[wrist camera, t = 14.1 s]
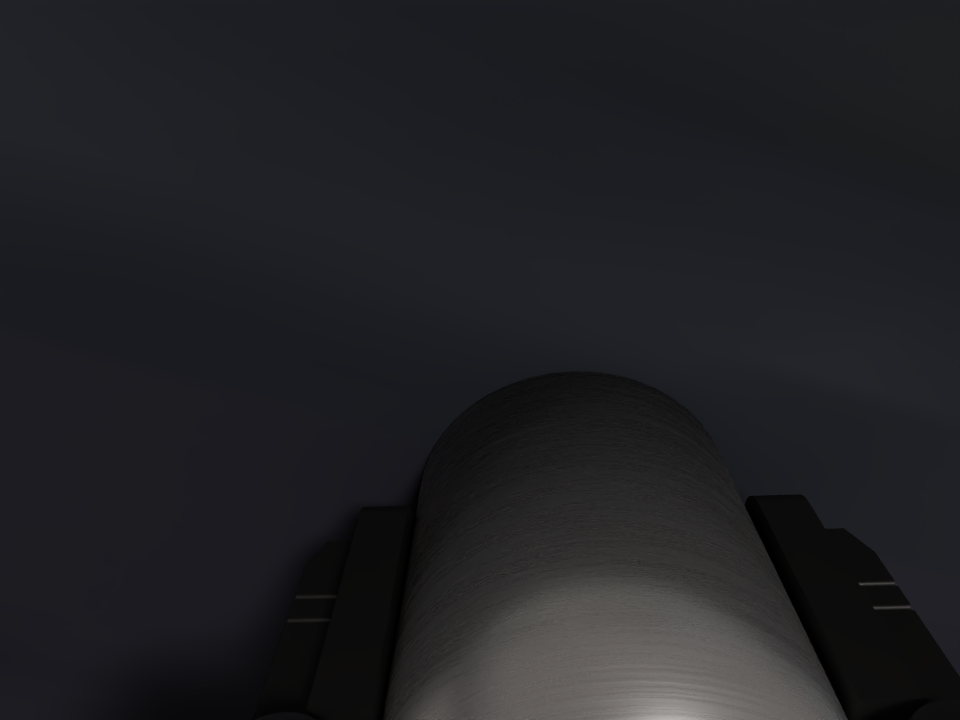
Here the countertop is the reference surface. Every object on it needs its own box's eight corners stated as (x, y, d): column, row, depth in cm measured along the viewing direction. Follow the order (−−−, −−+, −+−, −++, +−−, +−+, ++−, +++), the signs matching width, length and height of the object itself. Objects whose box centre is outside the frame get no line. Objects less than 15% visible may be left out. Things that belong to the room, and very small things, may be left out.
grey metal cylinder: (405, 377, 11) (282, 865, 5) (741, 364, 11) (1069, 859, 5) (432, 624, 13) (372, 1182, 7) (713, 617, 13) (910, 1187, 7)
